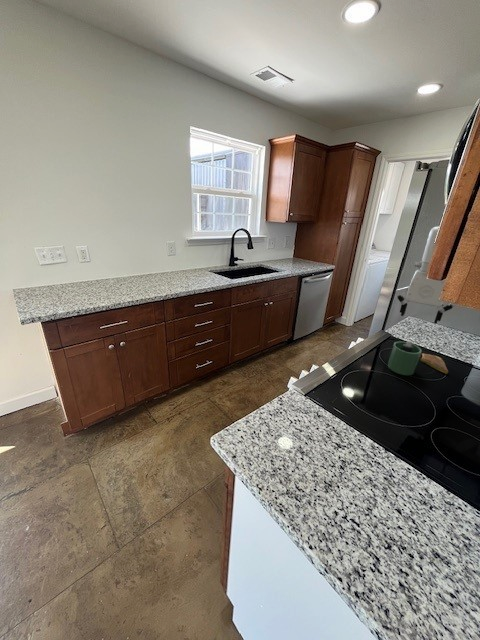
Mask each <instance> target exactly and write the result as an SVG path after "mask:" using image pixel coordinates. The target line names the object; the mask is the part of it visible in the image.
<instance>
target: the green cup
mask: <svg viewBox="0 0 480 640" xmlns="http://www.w3.org/2000/svg"><path fill="white" fill-rule="evenodd" d="M404 344H407V341H395V342H394V343H393V344H392V349H391V352H390V355H389V358H388V362H387V367H388V369H389V370H390V371H392V372H394V373H395V374H399V375H402V376H412V375H414V373H415V372H416V369H417V366H418V363H419V361H420V359H421V355H422V348H421V347H419V346H418V345H416V344H415V343H412V344H411V346H413V349H412V352H411V353H410V352H405V351H403V350H402V348H403V345H404Z"/></svg>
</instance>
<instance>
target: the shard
mask: <svg viewBox="0 0 480 640" xmlns="http://www.w3.org/2000/svg"><path fill="white" fill-rule="evenodd" d="M421 355H422V357H420V361H421V362H422V363H425V365H428V366H430V368H433V369H435V370H437V371H438V372H441V373H444V374H446V375H447V374H448V373H449V370H448V368H447V366H446V363H445V361H444V360H443V358H442V357H439V356H437V355H433V354H428V353H422V352H421Z"/></svg>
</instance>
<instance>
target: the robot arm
mask: <svg viewBox="0 0 480 640" xmlns="http://www.w3.org/2000/svg"><path fill="white" fill-rule="evenodd" d="M439 226H440V225H439ZM439 226H438V225H437V226H434V227H432V228H431V229H430V231H429V234H428V237H427V240H426V244H425V248H424V251H423V254H422V259H421V261H418V262H417V261H415V263H414V267H415V268H418V269H416V270H415V272H414V273H413V276H412V277H411V281H410V282H409V283H410V284H409V286H406V287H401V288H397V289H396V290H395V294H396V297H397V299H398V301H399V302H400V304H401V306H400V309H399V313H400V317H403V316H405V314H406V311H407V308H408V303H409V302H410V303H415V304H420V305H424V306H425V305H426V306H431V307H436V308H437V309H438V310H437V313H436V316H435V318H434V321H433V322H434V325H436V324H438V322H441V320H442V317H443V314H444V313H445V312H447V311H449V310H452V309H453V308H454V307H455V306H456V305H455V304H451V302H450V303H449V304H447V305H444V302H443V301H440V300H439V295H440V292H441V290H442V287H443V284H444V281H433V280H428V279H426V273H427V268H428V264H429V261H430V259H431V256H432V252H433V247H434V242H435V238H436V235H437V231H438V228H439ZM402 293H406V296H405V297H404V296H403V295H402Z"/></svg>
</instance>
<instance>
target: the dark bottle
mask: <svg viewBox="0 0 480 640" xmlns="http://www.w3.org/2000/svg"><path fill="white" fill-rule="evenodd" d="M406 342H407V344H404V345H403V348H402V350H403V351H405V352H410V353H411V352H412V349H413V346H411V344H413V341H412V340H411V339H407V341H406Z"/></svg>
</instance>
